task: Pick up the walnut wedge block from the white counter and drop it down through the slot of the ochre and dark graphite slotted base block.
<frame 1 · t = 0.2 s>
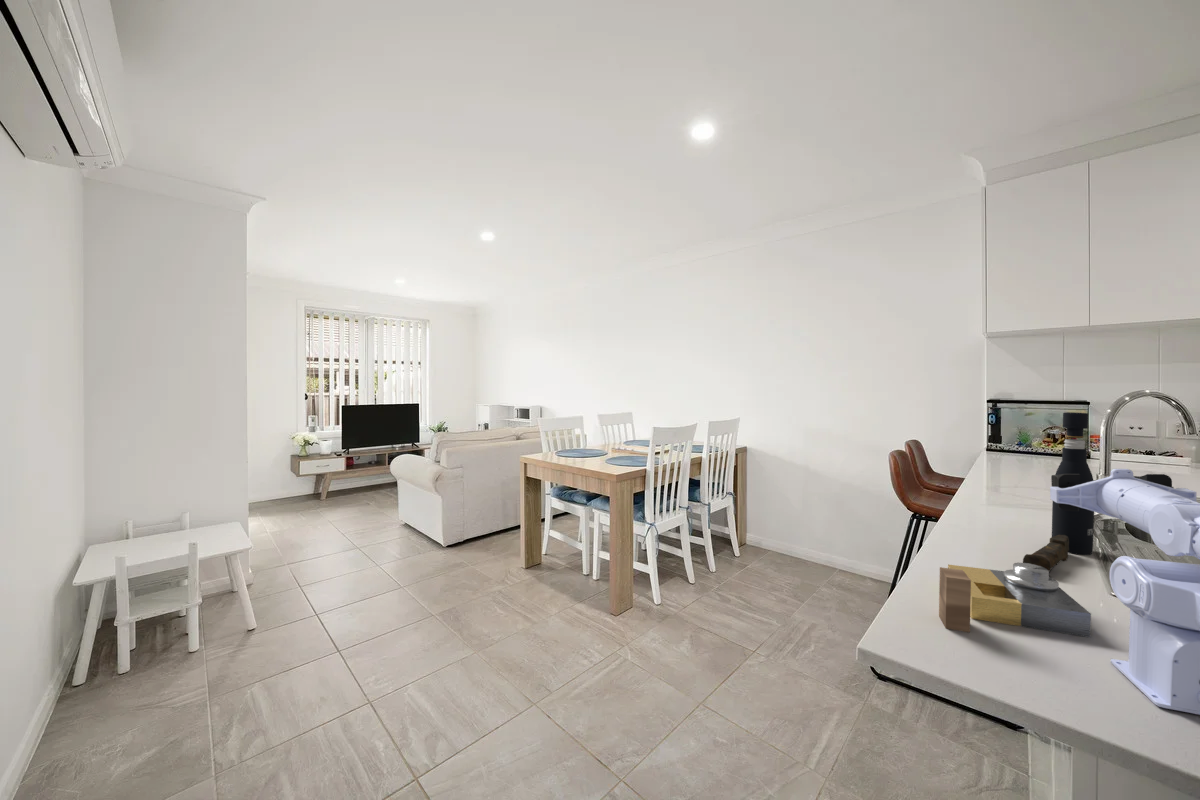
hand: (1085, 481, 74), 21 cm above the countertop, tool horizontal, fingers open, 7 cm apart
slotted base block: (1010, 606, 77), on the countertop
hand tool: (1047, 564, 95), on the countertop
wedge: (953, 624, 72), on the countertop
wine bottle: (1071, 550, 102), on the countertop
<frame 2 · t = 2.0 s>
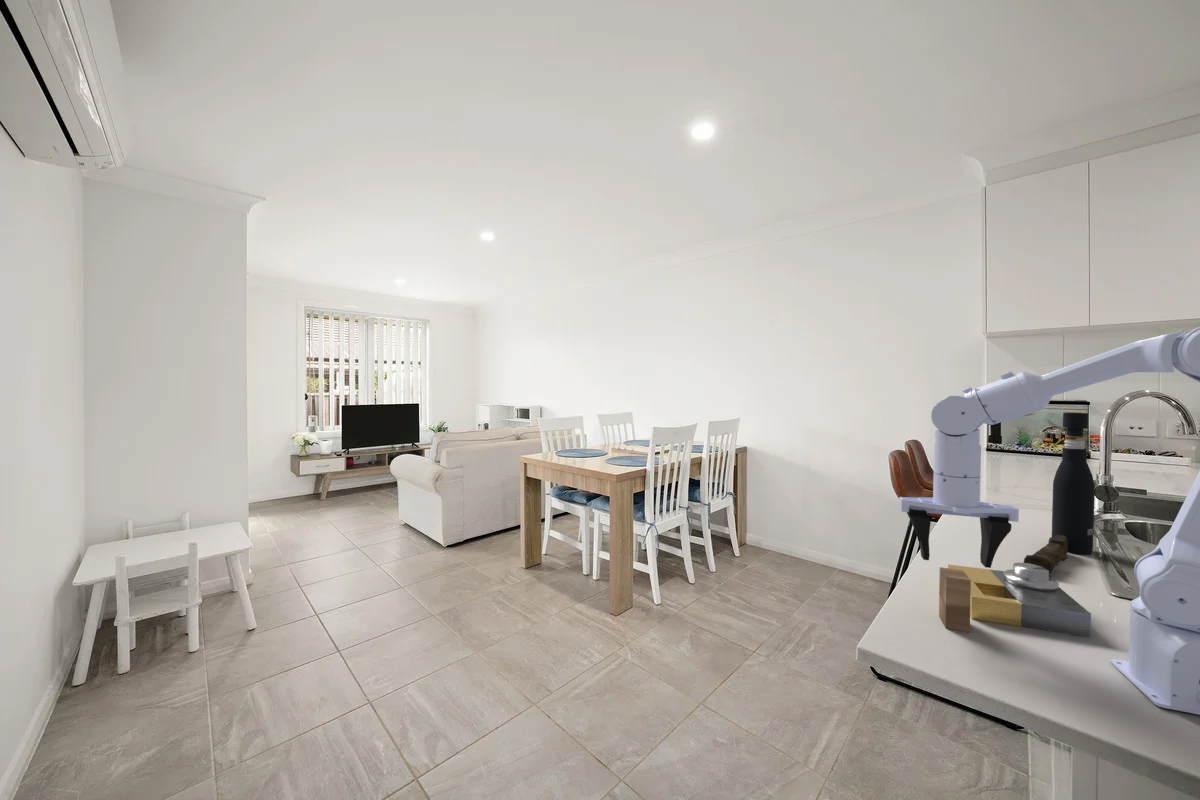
hand: (954, 561, 72), 10 cm above the countertop, tool pointing down, fingers open, 7 cm apart
nothing on the countertop moved.
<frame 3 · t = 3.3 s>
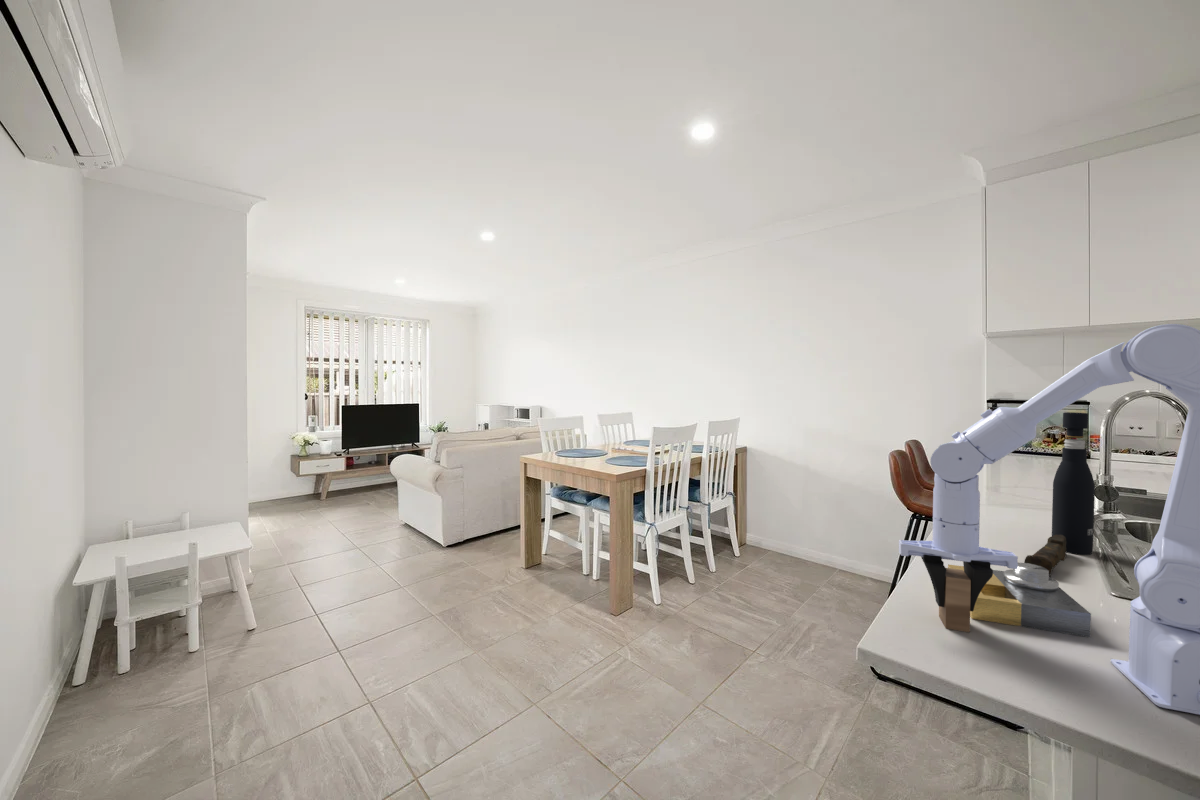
hand: (954, 606, 72), 3 cm above the countertop, tool pointing down, fingers closed on wedge, 3 cm apart
wedge: (953, 624, 72), on the countertop, touching gripper
everything else where it was.
when the fingers open (4 cm above the countertop, at t = 7.3 s): wedge stays where it is, resting in slotted base block.
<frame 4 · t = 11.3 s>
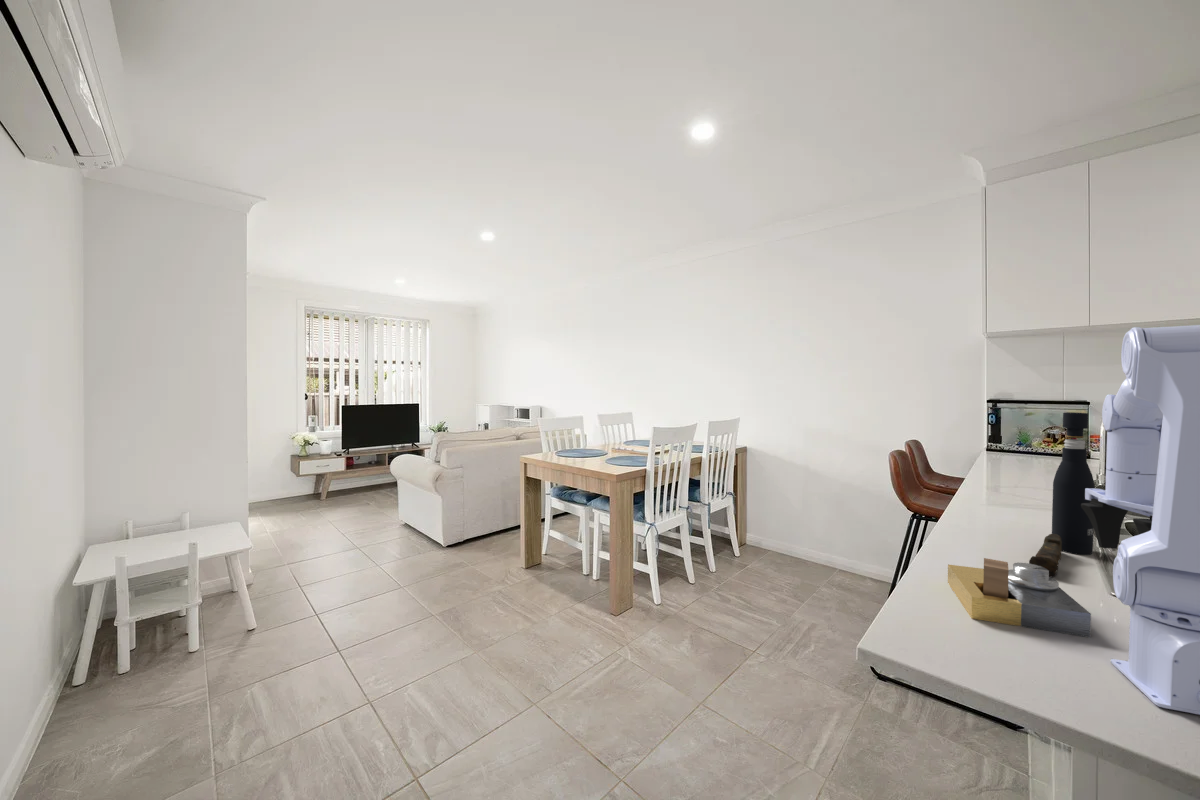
hand: (1129, 556, 74), 9 cm above the countertop, tool pointing down, fingers open, 7 cm apart
wedge: (994, 612, 76), resting in slotted base block
at the end: wedge 0.1 cm from the target spot on the slotted base block, point 0.0 cm above the slotted base block's base; wedge tilted 0°; the gripper is holding nothing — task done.
